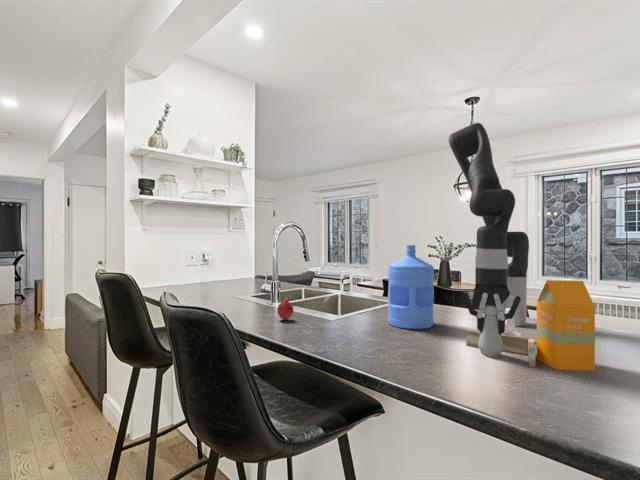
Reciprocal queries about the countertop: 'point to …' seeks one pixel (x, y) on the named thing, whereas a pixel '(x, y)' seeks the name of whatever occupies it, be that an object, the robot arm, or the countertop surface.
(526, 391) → the countertop surface
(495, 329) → the salt shaker
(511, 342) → the beige l-shaped block
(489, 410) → the countertop surface
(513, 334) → the hook
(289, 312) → the onion
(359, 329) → the countertop surface
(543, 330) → the orange juice
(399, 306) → the water jug
